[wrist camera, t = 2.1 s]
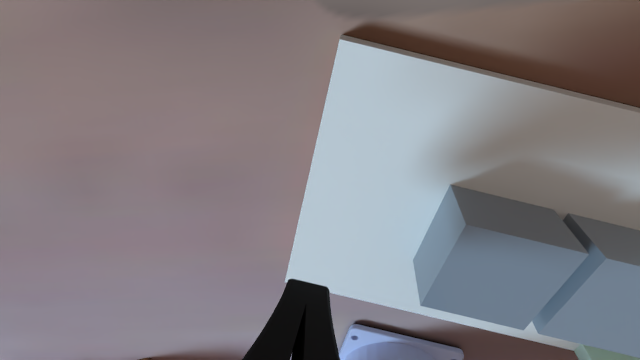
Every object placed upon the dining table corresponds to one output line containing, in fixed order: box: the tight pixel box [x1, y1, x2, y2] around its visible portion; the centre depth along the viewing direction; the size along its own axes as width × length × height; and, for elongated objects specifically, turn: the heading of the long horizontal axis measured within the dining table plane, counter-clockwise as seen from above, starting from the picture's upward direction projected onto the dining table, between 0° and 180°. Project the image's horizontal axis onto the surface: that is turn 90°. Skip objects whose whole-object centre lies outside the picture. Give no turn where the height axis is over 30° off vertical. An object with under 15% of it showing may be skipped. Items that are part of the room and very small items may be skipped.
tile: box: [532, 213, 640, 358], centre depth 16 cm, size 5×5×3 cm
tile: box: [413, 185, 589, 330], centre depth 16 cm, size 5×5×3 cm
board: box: [285, 35, 640, 351], centre depth 18 cm, size 14×18×1 cm
